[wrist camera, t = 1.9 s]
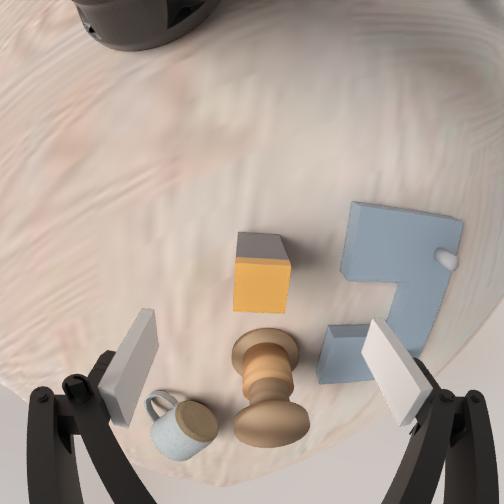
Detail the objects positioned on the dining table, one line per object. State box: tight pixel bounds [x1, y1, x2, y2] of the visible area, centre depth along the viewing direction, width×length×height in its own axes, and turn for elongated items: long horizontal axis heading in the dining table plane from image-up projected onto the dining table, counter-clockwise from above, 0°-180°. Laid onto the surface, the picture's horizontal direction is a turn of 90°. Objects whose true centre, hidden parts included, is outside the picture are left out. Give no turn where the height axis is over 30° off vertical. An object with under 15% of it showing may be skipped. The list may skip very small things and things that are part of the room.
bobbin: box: [232, 328, 310, 448], centre depth 27 cm, size 8×8×12 cm
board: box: [316, 202, 464, 384], centre depth 28 cm, size 22×14×6 cm, turn 176°
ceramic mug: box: [144, 391, 219, 461], centre depth 33 cm, size 11×8×8 cm
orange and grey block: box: [233, 232, 291, 314], centre depth 25 cm, size 4×4×8 cm
